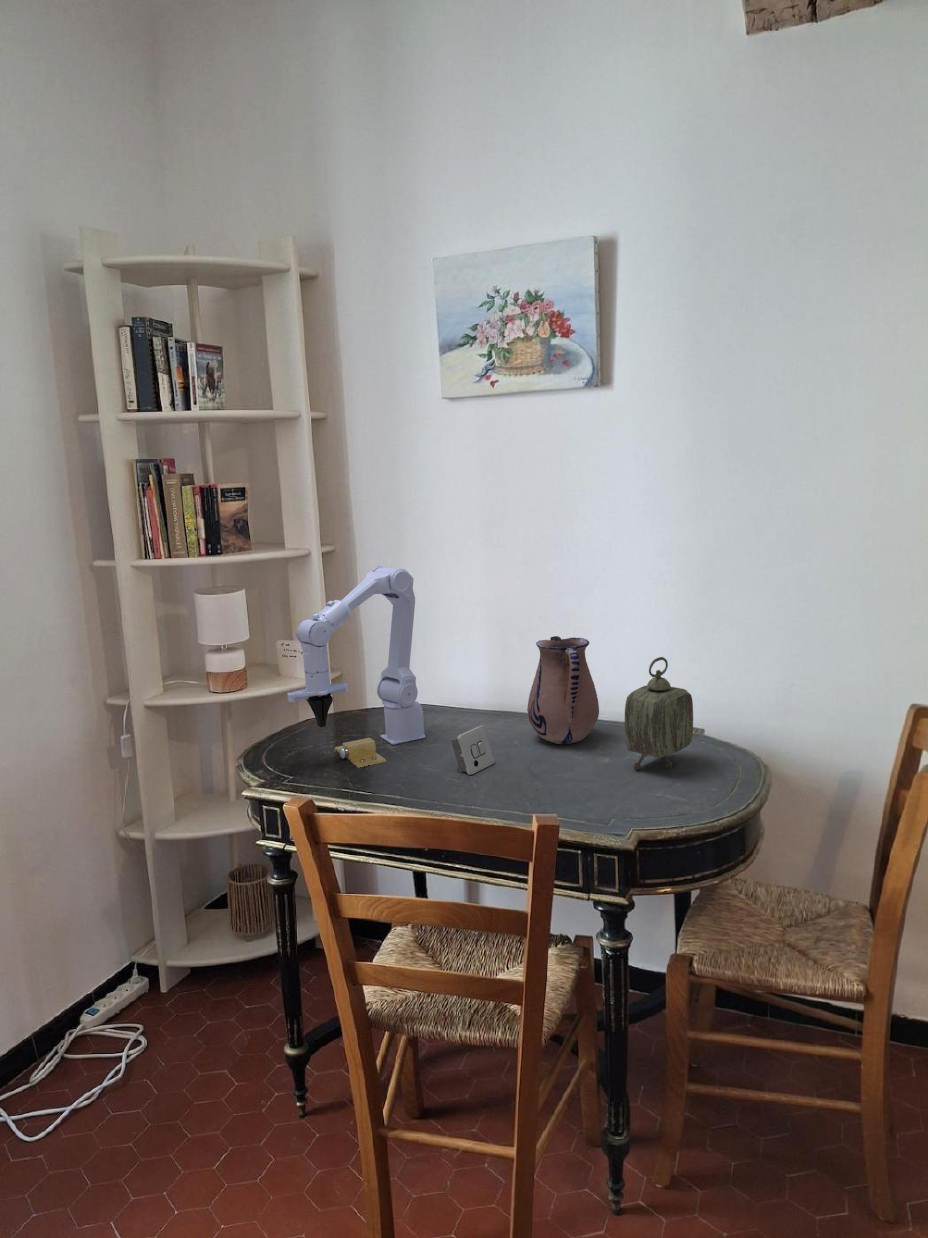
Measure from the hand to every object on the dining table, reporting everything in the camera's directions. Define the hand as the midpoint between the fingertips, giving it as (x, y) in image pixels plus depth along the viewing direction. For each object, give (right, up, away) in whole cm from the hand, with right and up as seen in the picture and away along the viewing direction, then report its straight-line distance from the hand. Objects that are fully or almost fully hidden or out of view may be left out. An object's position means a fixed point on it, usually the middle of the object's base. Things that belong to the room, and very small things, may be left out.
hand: (321, 725), depth 217 cm
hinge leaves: (+8, -8, +6) cm, 13 cm away
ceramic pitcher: (+59, -5, +8) cm, 60 cm away
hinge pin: (+8, -8, +6) cm, 12 cm away
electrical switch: (+36, -9, -7) cm, 38 cm away
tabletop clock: (+78, -8, -12) cm, 79 cm away
